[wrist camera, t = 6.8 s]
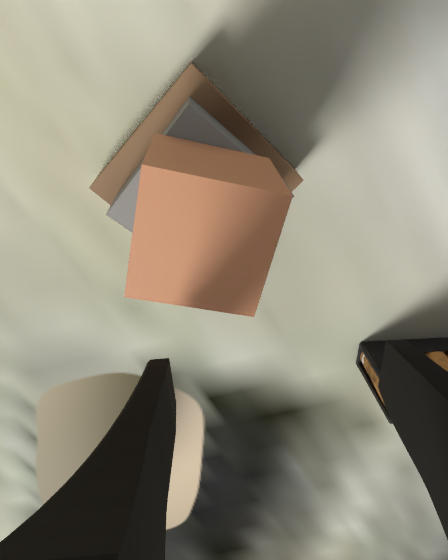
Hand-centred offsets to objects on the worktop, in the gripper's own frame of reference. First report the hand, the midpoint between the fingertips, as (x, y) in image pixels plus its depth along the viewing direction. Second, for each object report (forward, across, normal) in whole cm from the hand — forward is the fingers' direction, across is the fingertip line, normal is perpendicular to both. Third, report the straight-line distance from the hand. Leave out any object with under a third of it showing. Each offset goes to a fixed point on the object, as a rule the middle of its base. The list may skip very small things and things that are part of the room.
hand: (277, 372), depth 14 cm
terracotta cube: (+6, +2, -4) cm, 8 cm away
